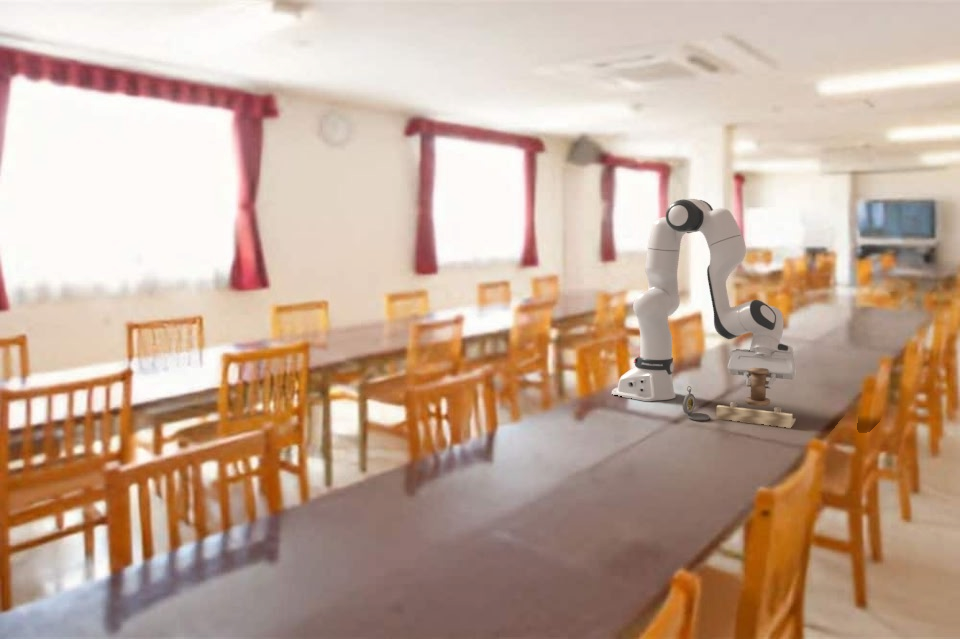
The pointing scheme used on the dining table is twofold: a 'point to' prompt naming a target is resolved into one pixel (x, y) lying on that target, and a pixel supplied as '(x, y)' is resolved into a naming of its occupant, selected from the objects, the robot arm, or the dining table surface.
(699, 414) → the pocket watch
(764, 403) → the flanged spool
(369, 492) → the dining table surface
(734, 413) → the peg rack
